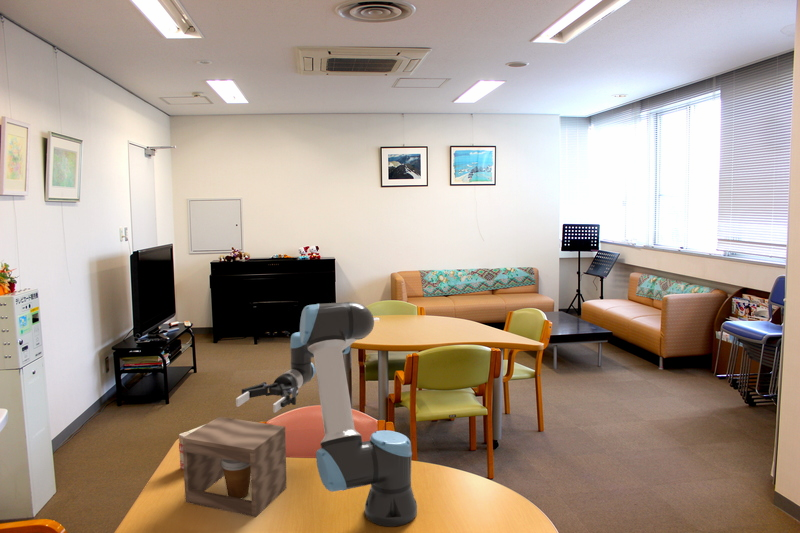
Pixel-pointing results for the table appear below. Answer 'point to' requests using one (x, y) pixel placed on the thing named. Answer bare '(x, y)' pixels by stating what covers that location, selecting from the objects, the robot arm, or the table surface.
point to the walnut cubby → (238, 444)
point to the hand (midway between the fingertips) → (255, 405)
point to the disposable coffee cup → (236, 477)
